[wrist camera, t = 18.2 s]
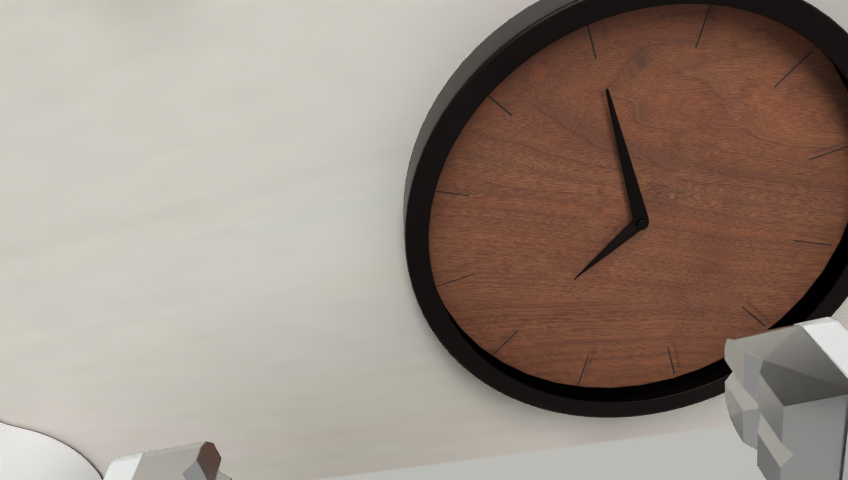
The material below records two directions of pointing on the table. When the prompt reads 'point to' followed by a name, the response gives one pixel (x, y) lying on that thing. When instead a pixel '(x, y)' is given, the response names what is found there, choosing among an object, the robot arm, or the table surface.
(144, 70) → the table surface
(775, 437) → the robot arm
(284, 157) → the table surface
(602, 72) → the wall clock
